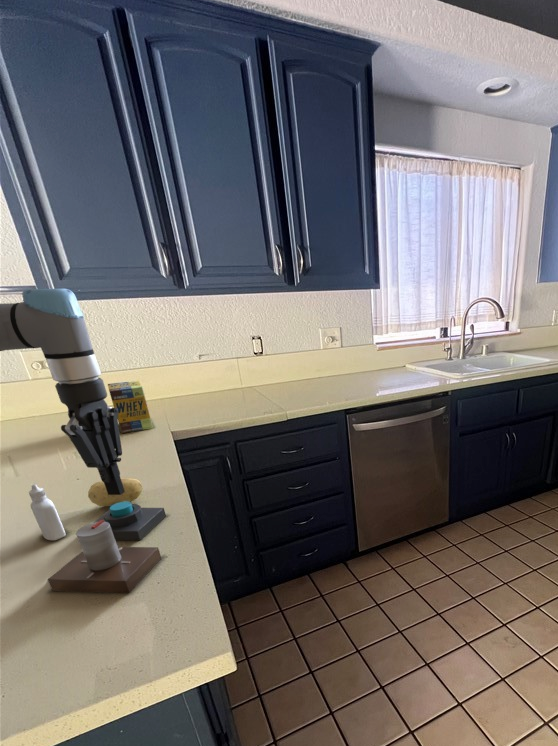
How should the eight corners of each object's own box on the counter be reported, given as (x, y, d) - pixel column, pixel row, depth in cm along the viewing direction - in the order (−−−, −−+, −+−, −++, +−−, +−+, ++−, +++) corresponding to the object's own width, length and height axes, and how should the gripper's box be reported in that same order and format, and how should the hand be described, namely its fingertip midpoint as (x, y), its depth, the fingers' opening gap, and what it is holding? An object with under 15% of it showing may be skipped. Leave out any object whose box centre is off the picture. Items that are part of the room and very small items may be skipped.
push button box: (85, 539, 88) (78, 523, 87) (116, 515, 97) (110, 500, 96) (140, 540, 87) (134, 523, 86) (166, 516, 96) (161, 500, 95)
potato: (97, 501, 104) (88, 478, 101) (147, 493, 108) (140, 470, 105) (90, 514, 98) (81, 489, 96) (144, 504, 102) (136, 480, 99)
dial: (109, 571, 74) (95, 535, 71) (82, 570, 74) (67, 534, 71) (127, 554, 78) (115, 520, 75) (102, 553, 79) (89, 519, 76)
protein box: (121, 433, 153) (108, 391, 147) (119, 423, 165) (107, 383, 159) (153, 428, 158) (142, 386, 152) (149, 418, 170) (138, 379, 164)
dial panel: (52, 591, 73) (46, 578, 72) (92, 557, 82) (88, 545, 81) (129, 592, 72) (125, 580, 71) (161, 558, 81) (158, 546, 80)
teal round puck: (107, 517, 89) (105, 510, 88) (119, 508, 93) (117, 501, 92) (125, 517, 89) (123, 510, 88) (137, 508, 92) (135, 501, 92)
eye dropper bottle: (68, 526, 93) (48, 477, 88) (65, 538, 89) (44, 487, 84) (44, 532, 92) (22, 481, 87) (40, 544, 87) (16, 492, 82)
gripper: (84, 373, 85) (119, 480, 95) (30, 388, 73) (77, 508, 83) (119, 372, 85) (151, 480, 94) (71, 387, 73) (113, 508, 83)
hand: (116, 493), depth 89 cm, fingers closed
